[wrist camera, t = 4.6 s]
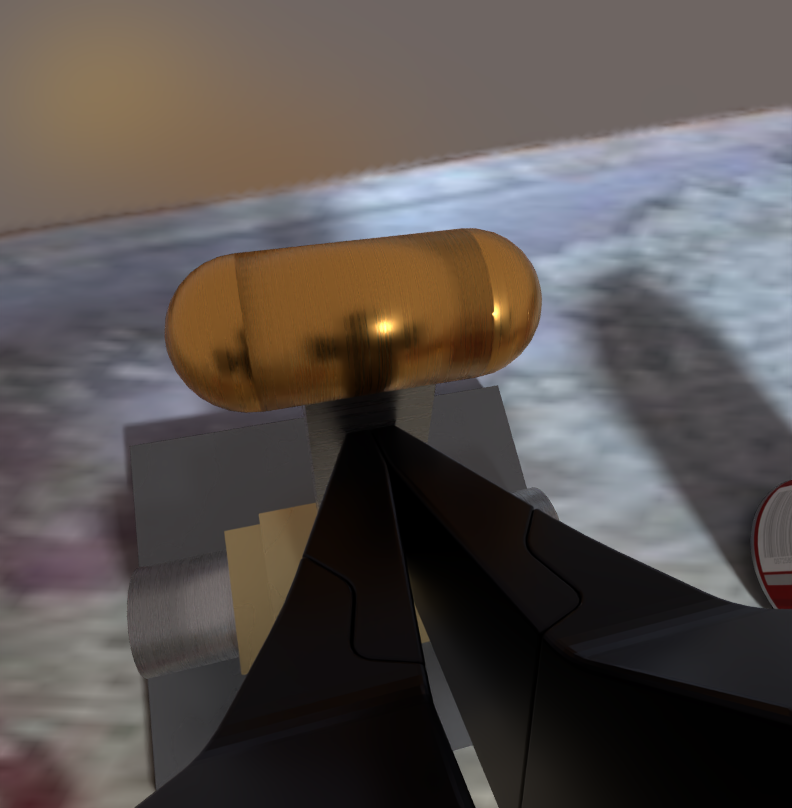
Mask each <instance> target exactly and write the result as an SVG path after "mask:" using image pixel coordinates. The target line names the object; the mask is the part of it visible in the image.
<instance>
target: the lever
mask: <svg viewBox="0 0 792 808" xmlns="http://www.w3.org/2000/svg"><path fill="white" fill-rule="evenodd" d="M541 307H542V294H541V287H540V284H539V280H538V277H537V274H536V271H535V269H534V267H533V265H532V263H531V262H530V261H529V259H528V258H527V257H526V255H525V254H524V253H523V251H522V250H521V249H519V248H518V247H517V246H516V245H515V244H513V243H512V242H511V241H509V240H508V239H507V238H505V237H503V236H501V235H498V234H496V233H494V232H490V231H485V230H481V229H476V228H461V229H453V230H443V231H434V232H425V233H416V234H407V235H398V236H389V237H380V238H370V239H361V240H352V241H343V242H334V243H325V244H316V245H306V246H297V247H288V248H279V249H270V250H261V251H252V252H243V253H234V254H229V255H224V256H220V257H217V258H215V259H212V260H210V261H208V262H205V263H203V264H202V265H201V266H199V267H198V268H196V269H195V270H194V271H192V272H191V273H190V274H189V275H188V276H187V277H186V278H185V279H184V280H183V282H182V283H181V284H180V285H179V286H178V288H177V290H176V292H175V293H174V295H173V297H172V299H171V300H170V304H169V307H168V310H167V314H166V318H165V343H166V348H167V352H168V355H169V358H170V360H171V362H172V364H173V366H174V368H175V371H176V372H177V374H178V375H179V376H180V378H181V379H182V380H183V381H184V383H185V384H186V385H187V386H188V387H189V388H190V389H191V390H192V391H193V392H194V393H196V394H197V395H198V396H199V397H200V398H202V399H204V400H206V401H207V402H209V403H211V404H213V405H215V406H218V407H221V408H224V409H227V410H230V411H238V412H246V413H247V412H264V411H271V410H277V409H283V408H289V407H295V406H302V409H303V416H304V423H305V430H306V437H307V445H308V452H309V459H310V466H311V473H312V480H313V487H314V494H315V501H316V508H317V513H318V510H319V507H320V504H321V501H322V499H323V496H324V493H325V490H326V487H327V485H328V482H329V479H330V476H331V473H332V470H333V468H334V465H335V462H336V459H337V456H338V453H339V451H340V448H341V445H342V442H343V439H344V437H345V435H346V434H347V433H350V432H355V431H361V430H369V431H370V432H371V431H372V430H373V429H374V428H379V427H384V426H390V425H395V426H397V427H399V428H401V429H403V430H404V431H406V432H408V433H409V434H411V435H413V436H414V437H416V438H418V439H420V440H421V441H423V442H425V443H426V444H427V442H428V435H429V428H430V421H431V414H432V407H433V400H434V393H435V386H436V384H438V383H444V382H451V381H457V380H463V379H469V378H475V377H480V376H483V375H487V374H491V373H494V372H496V371H498V370H500V369H502V368H504V367H506V366H507V365H508V364H510V363H511V362H512V361H513V360H515V359H516V358H517V357H518V356H519V355H521V353H522V352H523V351H524V350H525V348H526V347H527V346H528V344H529V343H530V341H531V340H532V338H533V336H534V334H535V331H536V329H537V327H538V324H539V320H540V315H541Z"/></svg>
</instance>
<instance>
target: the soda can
mask: <svg viewBox="0 0 792 808" xmlns="http://www.w3.org/2000/svg"><path fill="white" fill-rule="evenodd" d="M750 542H751V556H752V561H753V566H754V569H755V573H756V576H757V579H758V581H759V583H760V586H761V588H762V590H763V592H764V594H765V595H766V597H767V599H768V600H769V602H770V603H771V605H772V606H773V608H774V609H792V480H789V481H786V482H784V483H782V484H780V485H779V486H777V487H776V488H774V489H773V490H772V491H771V492H769V494H768V495H767V496H766V497H765V498H764V499H763V501H762V502H761V504H760V505H759V507H758V509H757V511H756V514H755V516H754V520H753V524H752V529H751V538H750Z"/></svg>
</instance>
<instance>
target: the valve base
mask: <svg viewBox="0 0 792 808" xmlns="http://www.w3.org/2000/svg"><path fill="white" fill-rule="evenodd" d="M427 444H428V445H430V446H432V447H433V448H435V449H437V450H438V451H440V452H442V453H444V454H445V455H447V456H449V457H450V458H452V459H454V460H456V461H457V462H459V463H461V464H462V465H464V466H466V467H467V468H469V469H471V470H473V471H474V472H476V473H478V474H479V475H481V476H483V477H485V478H486V479H488V480H490V481H491V482H493V483H495V484H497V485H498V486H500V487H502V488H503V489H505V490H507V491H508V492H510V493H512V494H514V495H515V496H517V497H519V498H520V499H522V500H524V501H526V502H527V503H529V504H531V505H532V506H533V507H534V509H536V508H537V509H540V510H541V511H543V512H545V513H546V514H548V515H550V516H552V517H553V518H555V519H557V520H559V518H558V515H557V513H556V511H555V509H554V507H553V505H552V503H551V502H550V500H549V499H548V497H547V496H546V495H545V494H544V493H543V492H542V491H541V490H540V489H538V488H535V487H532V488H527V487H526V484H525V480H524V477H523V473H522V470H521V466H520V463H519V459H518V455H517V452H516V448H515V445H514V441H513V438H512V434H511V431H510V427H509V423H508V420H507V416H506V413H505V409H504V406H503V402H502V398H501V395H500V391H499V388H498V386H492V387H486V388H480V389H474V390H468V391H462V392H456V393H450V394H443V395H437V396H434V400H433V407H432V414H431V421H430V428H429V435H428V442H427ZM130 455H131V468H132V482H133V495H134V508H135V521H136V534H137V547H138V560H139V567H138V568H137V569H136V570H135V571H134V573H133V575H132V577H131V581H130V585H129V591H128V601H127V620H128V633H129V640H130V646H131V651H132V655H133V658H134V662H135V664H136V667H137V669H138V671H139V673H140V674H141V675H142V677H144V678H145V679H148V690H149V703H150V716H151V729H152V742H153V755H154V768H155V781H156V790H158V789H159V788H160V787H162V786H163V785H164V784H165V783H167V782H168V781H169V780H171V779H172V778H173V777H174V776H176V775H177V774H178V773H179V772H181V771H182V770H183V769H184V768H186V767H187V766H188V765H189V764H190V763H191V762H192V761H193V760H194V759H195V758H196V757H197V756H198V755H199V753H200V752H201V751H202V750H203V748H204V747H205V746H206V745H207V743H208V742H209V741H210V739H211V738H212V736H213V735H214V733H215V732H216V730H217V728H218V727H219V725H220V723H221V721H222V720H223V718H224V716H225V714H226V713H227V711H228V709H229V707H230V705H231V703H232V701H233V699H234V698H235V696H236V694H237V692H238V690H239V688H240V686H241V685H242V683H243V681H244V679H245V677H246V675H247V673H248V672H249V670H250V668H251V666H252V664H253V662H254V660H255V659H256V657H257V655H258V653H259V651H260V649H261V647H262V646H263V644H264V642H265V640H266V638H267V636H268V634H269V632H270V630H271V628H272V626H273V624H274V622H275V620H276V618H277V616H278V614H279V612H280V610H281V608H282V606H283V604H284V602H285V599H286V597H287V594H288V592H289V589H290V587H291V584H292V582H293V580H294V577H295V574H296V571H297V569H298V566H299V563H300V560H301V559H302V555H303V552H304V550H305V547H306V544H307V541H308V538H309V535H310V533H311V530H312V527H313V524H314V521H315V518H316V516H317V508H316V501H315V494H314V487H313V480H312V473H311V466H310V459H309V452H308V445H307V437H306V430H305V423H304V418H298V419H292V420H286V421H280V422H274V423H268V424H262V425H256V426H250V427H244V428H238V429H231V430H225V431H219V432H213V433H207V434H201V435H195V436H189V437H183V438H177V439H171V440H165V441H159V442H153V443H147V444H141V445H135V446H130ZM414 605H415V603H414ZM415 610H416V616H417V621H418V626H419V632H420V637H421V642H422V648H423V653H424V658H425V664H426V670H427V675H428V680H429V684H430V689H431V693H432V697H433V701H434V705H435V708H436V711H437V713H438V716H439V718H440V721H441V723H442V726H443V728H444V731H445V733H446V736H447V738H448V741H449V743H450V746H451V748H452V751H454V750H457V749H461V748H464V747H468V746H471V745H473V744H472V742H471V739H470V737H469V734H468V732H467V729H466V727H465V725H464V722H463V720H462V717H461V715H460V712H459V710H458V708H457V705H456V703H455V700H454V698H453V696H452V693H451V691H450V688H449V686H448V683H447V681H446V679H445V676H444V674H443V671H442V669H441V666H440V664H439V662H438V659H437V657H436V654H435V652H434V649H433V647H432V645H431V642H430V640H429V637H428V635H427V633H426V630H425V628H424V625H423V623H422V620H421V618H420V616H419V613H418V611H417V608H416V606H415Z"/></svg>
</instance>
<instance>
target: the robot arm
mask: <svg viewBox="0 0 792 808" xmlns="http://www.w3.org/2000/svg"><path fill="white" fill-rule="evenodd" d="M414 603H415V605H414ZM415 606H416V608H417V611H418V613H419V616H420V618H421V620H422V623H423V625H424V628H425V630H426V633H427V635H428V637H429V640H430V642H431V645H432V647H433V649H434V652H435V654H436V657H437V659H438V662H439V664H440V666H441V669H442V671H443V674H444V676H445V679H446V681H447V683H448V686H449V688H450V691H451V693H452V696H453V698H454V700H455V703H456V705H457V708H458V710H459V712H460V715H461V717H462V720H463V722H464V725H465V727H466V729H467V732H468V734H469V737H470V739H471V742H472V744H473V746H474V749H475V751H476V754H477V756H478V759H479V761H480V763H481V766H482V768H483V771H484V773H485V775H486V778H487V780H488V783H489V785H490V788H491V790H492V792H493V795H494V797H495V800H496V802H497V805H498V807H499V808H792V609H765V608H757V607H750V606H745V605H741V604H737V603H733V602H730V601H727V600H724V599H721V598H718V597H715V596H713V595H711V594H708V593H706V592H704V591H701V590H699V589H697V588H695V587H693V586H691V585H689V584H686V583H684V582H682V581H680V580H678V579H676V578H674V577H672V576H669V575H667V574H665V573H663V572H661V571H659V570H657V569H654V568H652V567H650V566H648V565H646V564H644V563H642V562H640V561H637V560H635V559H633V558H631V557H629V556H627V555H625V554H622V553H620V552H618V551H616V550H614V549H612V548H610V547H608V546H606V545H604V544H602V543H600V542H598V541H596V540H594V539H592V538H590V537H588V536H586V535H584V534H582V533H580V532H579V531H577V530H575V529H573V528H571V527H569V526H568V525H566V524H564V523H562V522H560V521H559V520H557V519H555V518H553V517H552V516H550V515H548V514H546V513H545V512H543V511H541V510H540V509H537V508H536V509H534V507H533V506H532V505H531V504H529V503H527V502H526V501H524V500H522V499H520V498H519V497H517V496H515V495H514V494H512V493H510V492H508V491H507V490H505V489H503V488H502V487H500V486H498V485H497V484H495V483H493V482H491V481H490V480H488V479H486V478H485V477H483V476H481V475H479V474H478V473H476V472H474V471H473V470H471V469H469V468H467V467H466V466H464V465H462V464H461V463H459V462H457V461H456V460H454V459H452V458H450V457H449V456H447V455H445V454H444V453H442V452H440V451H438V450H437V449H435V448H433V447H432V446H430V445H428V444H426V443H425V442H423V441H421V440H420V439H418V438H416V437H414V436H413V435H411V434H409V433H408V432H406V431H404V430H403V429H401V428H399V427H397V426H395V425H390V426H384V427H379V428H374V429H373V430H372V431H371V432H370V431H369V430H361V431H355V432H350V433H347V434H346V435H345V437H344V439H343V442H342V445H341V448H340V451H339V453H338V456H337V459H336V462H335V465H334V468H333V470H332V473H331V476H330V479H329V482H328V485H327V487H326V490H325V493H324V496H323V499H322V501H321V504H320V507H319V510H318V513H317V516H316V518H315V521H314V524H313V527H312V530H311V533H310V535H309V538H308V541H307V544H306V547H305V550H304V552H303V555H302V559H301V560H300V563H299V566H298V569H297V571H296V574H295V577H294V580H293V582H292V584H291V587H290V589H289V592H288V594H287V597H286V599H285V602H284V604H283V606H282V608H281V610H280V612H279V614H278V616H277V618H276V620H275V622H274V624H273V626H272V628H271V630H270V632H269V634H268V636H267V638H266V640H265V642H264V644H263V646H262V647H261V649H260V651H259V653H258V655H257V657H256V659H255V660H254V662H253V664H252V666H251V668H250V670H249V672H248V673H247V675H246V677H245V679H244V681H243V683H242V685H241V686H240V688H239V690H238V692H237V694H236V696H235V698H234V699H233V701H232V703H231V705H230V707H229V709H228V711H227V713H226V714H225V716H224V718H223V720H222V721H221V723H220V725H219V727H218V728H217V730H216V732H215V733H214V735H213V736H212V738H211V739H210V741H209V742H208V743H207V745H206V746H205V747H204V748H203V750H202V751H201V752H200V753H199V755H198V756H197V757H196V758H195V759H194V760H193V761H192V762H191V763H190V764H189V765H188V766H187V767H186V768H184V769H183V770H182V771H181V772H179V773H178V774H177V775H176V776H174V777H173V778H172V779H171V780H169V781H168V782H167V783H165V784H164V785H163V786H162V787H160V788H159V789H158V790H156V791H155V792H154V793H153V794H151V795H150V796H149V797H147V798H146V799H145V800H144V801H142V802H141V803H140V804H138V805H137V806H136V807H135V808H475V805H474V803H473V800H472V798H471V795H470V793H469V790H468V788H467V785H466V783H465V780H464V778H463V775H462V773H461V771H460V768H459V766H458V763H457V761H456V758H455V756H454V753H453V751H452V748H451V746H450V743H449V741H448V738H447V736H446V733H445V731H444V728H443V726H442V723H441V721H440V718H439V716H438V713H437V711H436V708H435V705H434V701H433V697H432V693H431V689H430V684H429V680H428V675H427V670H426V664H425V658H424V653H423V648H422V642H421V637H420V632H419V626H418V621H417V616H416V610H415Z"/></svg>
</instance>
